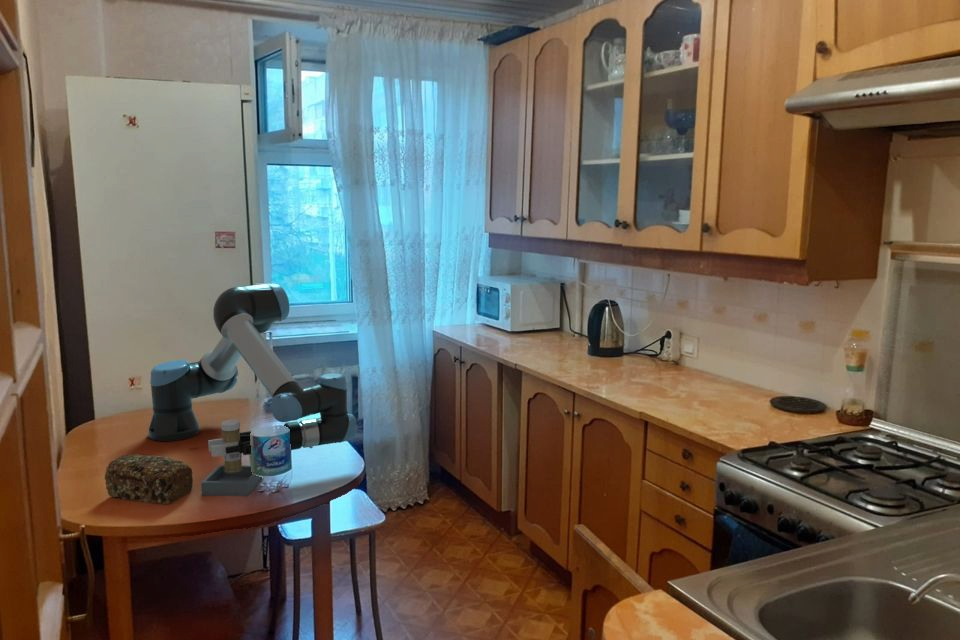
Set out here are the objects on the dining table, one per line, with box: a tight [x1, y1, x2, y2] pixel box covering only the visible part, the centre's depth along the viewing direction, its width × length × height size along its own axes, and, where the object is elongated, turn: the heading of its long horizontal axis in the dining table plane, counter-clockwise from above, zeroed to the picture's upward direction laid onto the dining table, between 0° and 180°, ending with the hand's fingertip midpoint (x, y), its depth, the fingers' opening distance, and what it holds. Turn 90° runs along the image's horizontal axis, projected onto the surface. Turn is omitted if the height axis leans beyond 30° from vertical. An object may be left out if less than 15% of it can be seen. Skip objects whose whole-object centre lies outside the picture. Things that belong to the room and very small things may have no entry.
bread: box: [104, 453, 194, 505], centre depth 180 cm, size 19×11×10 cm, turn 75°
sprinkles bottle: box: [220, 419, 243, 473], centre depth 184 cm, size 5×5×13 cm
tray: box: [200, 464, 263, 497], centre depth 185 cm, size 12×12×4 cm
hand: (210, 448), depth 181 cm, fingers closed on sprinkles bottle, 4 cm apart
